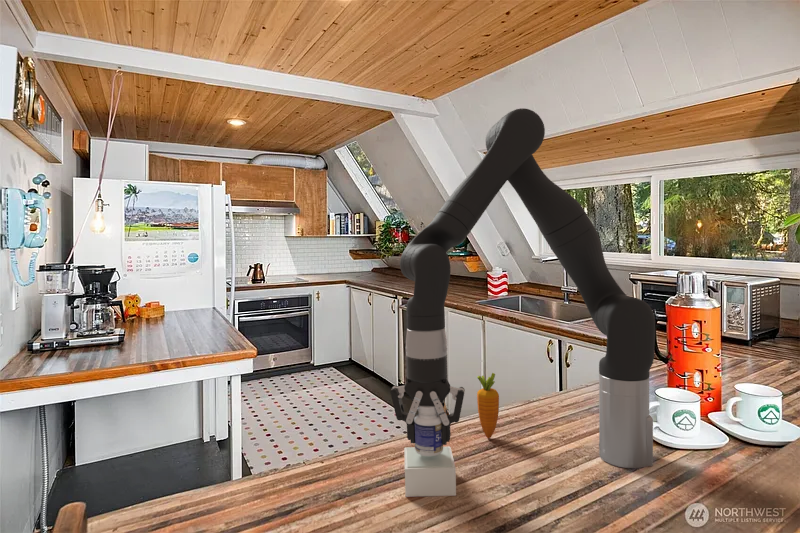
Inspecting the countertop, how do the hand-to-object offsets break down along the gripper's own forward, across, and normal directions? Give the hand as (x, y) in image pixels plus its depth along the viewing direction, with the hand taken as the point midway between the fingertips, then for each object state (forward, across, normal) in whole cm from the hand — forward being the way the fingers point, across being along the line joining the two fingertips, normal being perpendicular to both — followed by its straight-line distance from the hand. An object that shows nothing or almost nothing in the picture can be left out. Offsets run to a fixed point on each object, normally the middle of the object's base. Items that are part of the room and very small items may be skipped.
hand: (428, 442), depth 90 cm
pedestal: (+8, 0, 0) cm, 8 cm away
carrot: (+8, -11, -22) cm, 26 cm away
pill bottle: (+2, 0, 0) cm, 2 cm away
